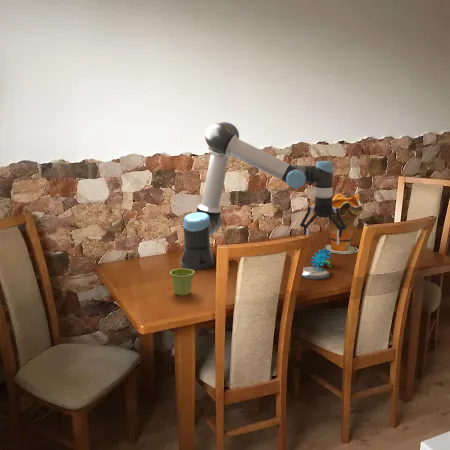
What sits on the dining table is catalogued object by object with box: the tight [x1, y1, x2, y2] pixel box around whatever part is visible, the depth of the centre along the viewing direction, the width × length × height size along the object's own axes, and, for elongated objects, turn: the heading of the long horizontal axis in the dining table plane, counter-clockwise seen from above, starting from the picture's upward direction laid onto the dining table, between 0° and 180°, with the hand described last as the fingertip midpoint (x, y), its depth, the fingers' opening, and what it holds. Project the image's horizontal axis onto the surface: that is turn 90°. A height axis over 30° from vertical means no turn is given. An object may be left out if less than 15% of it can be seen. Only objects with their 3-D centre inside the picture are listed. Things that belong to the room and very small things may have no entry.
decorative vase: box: [323, 193, 365, 255], centre depth 258 cm, size 21×23×28 cm
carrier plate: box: [301, 266, 330, 281], centre depth 223 cm, size 13×13×2 cm
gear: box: [310, 248, 332, 269], centre depth 235 cm, size 11×6×10 cm
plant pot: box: [169, 267, 195, 296], centre depth 202 cm, size 9×9×9 cm
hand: (322, 243), depth 232 cm, fingers open, 13 cm apart
